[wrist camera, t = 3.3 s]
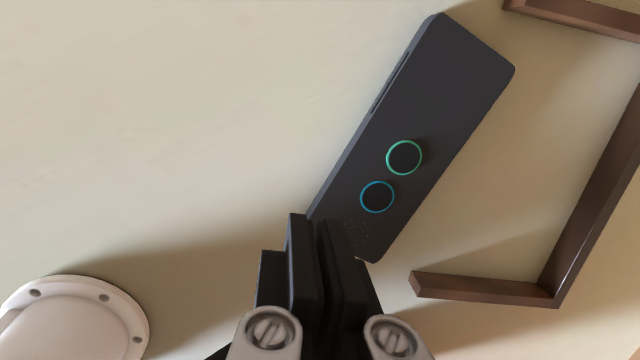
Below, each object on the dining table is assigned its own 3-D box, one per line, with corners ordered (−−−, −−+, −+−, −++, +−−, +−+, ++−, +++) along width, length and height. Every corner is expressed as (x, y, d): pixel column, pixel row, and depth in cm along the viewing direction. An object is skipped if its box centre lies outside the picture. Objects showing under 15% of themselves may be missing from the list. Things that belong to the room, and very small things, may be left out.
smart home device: (299, 232, 28) (438, 7, 23) (298, 222, 30) (428, 10, 24) (377, 267, 30) (521, 70, 25) (373, 256, 32) (507, 68, 27)
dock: (407, 280, 34) (417, 297, 31) (507, -9, 24) (530, -15, 22) (541, 292, 36) (558, 309, 34) (676, 35, 27) (713, 34, 25)
